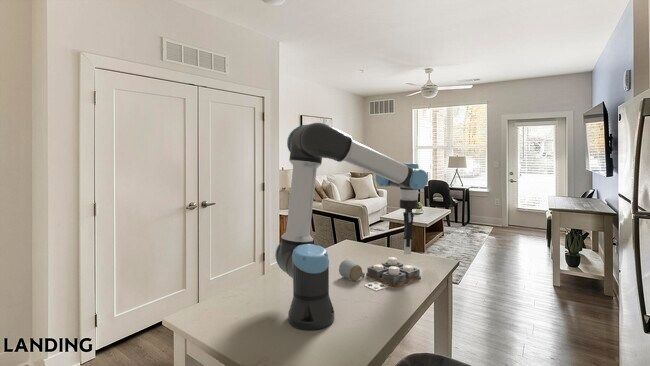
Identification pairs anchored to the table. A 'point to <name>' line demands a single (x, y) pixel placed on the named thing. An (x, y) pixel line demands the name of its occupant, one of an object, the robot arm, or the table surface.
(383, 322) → the table surface
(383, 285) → the card
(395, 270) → the button near right
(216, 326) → the table surface
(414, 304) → the table surface
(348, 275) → the ceramic mug
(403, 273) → the button board
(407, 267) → the button far right
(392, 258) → the button far left
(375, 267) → the button near left
